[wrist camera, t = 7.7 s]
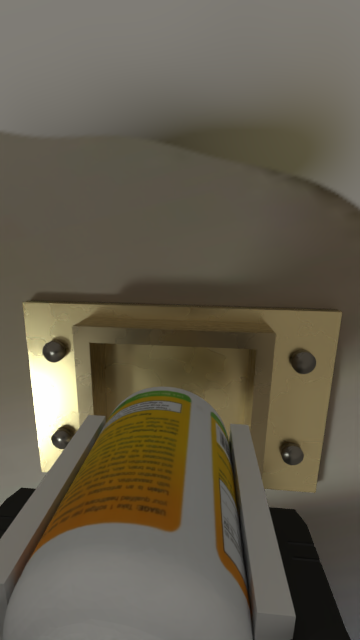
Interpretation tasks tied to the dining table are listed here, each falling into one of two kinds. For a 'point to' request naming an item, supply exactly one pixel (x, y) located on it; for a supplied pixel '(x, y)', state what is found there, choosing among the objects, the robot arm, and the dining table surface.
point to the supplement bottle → (142, 535)
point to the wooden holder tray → (189, 372)
